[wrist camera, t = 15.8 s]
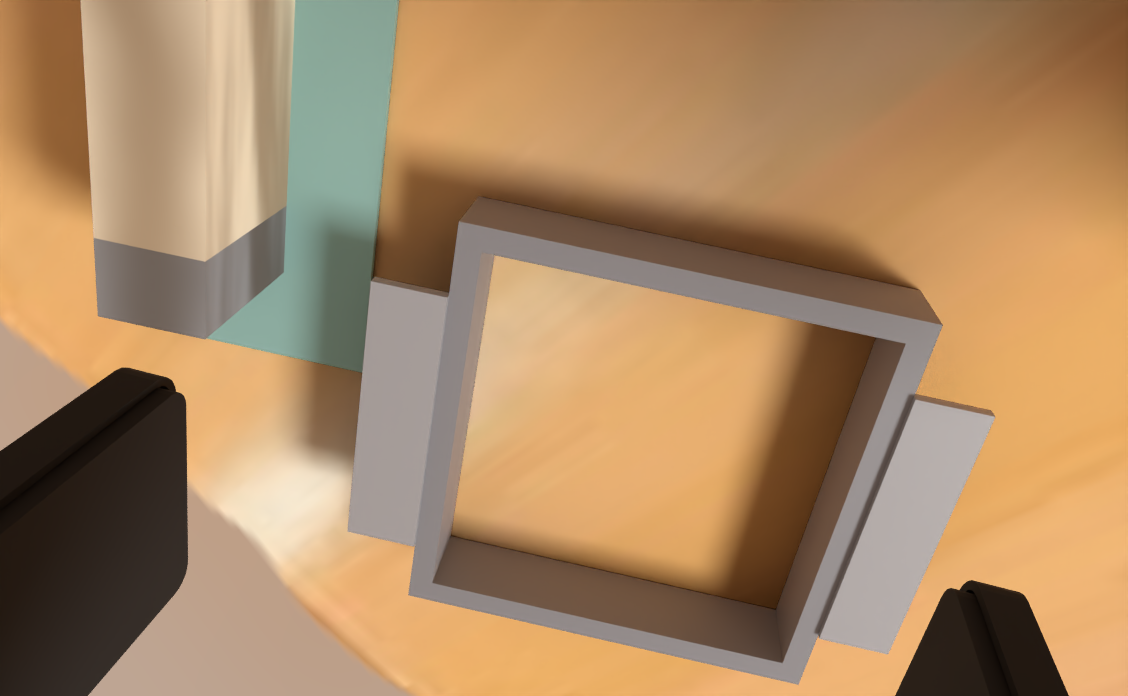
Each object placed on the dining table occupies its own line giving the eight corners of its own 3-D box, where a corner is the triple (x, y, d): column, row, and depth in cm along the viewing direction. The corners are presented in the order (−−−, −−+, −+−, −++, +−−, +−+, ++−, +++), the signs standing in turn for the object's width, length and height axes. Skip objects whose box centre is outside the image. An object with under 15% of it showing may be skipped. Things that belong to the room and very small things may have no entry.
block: (296, -27, 33) (205, -17, 27) (283, 272, 39) (204, 339, 32) (192, -48, 34) (77, -42, 27) (193, 253, 39) (97, 316, 32)
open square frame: (995, 306, 36) (1027, 345, 32) (851, 644, 44) (865, 704, 40) (406, 180, 37) (377, 206, 33) (368, 534, 44) (342, 583, 41)
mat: (410, -127, 32) (408, -127, 32) (364, 369, 41) (361, 372, 40) (84, -192, 32) (79, -194, 32) (107, 313, 41) (103, 315, 41)
